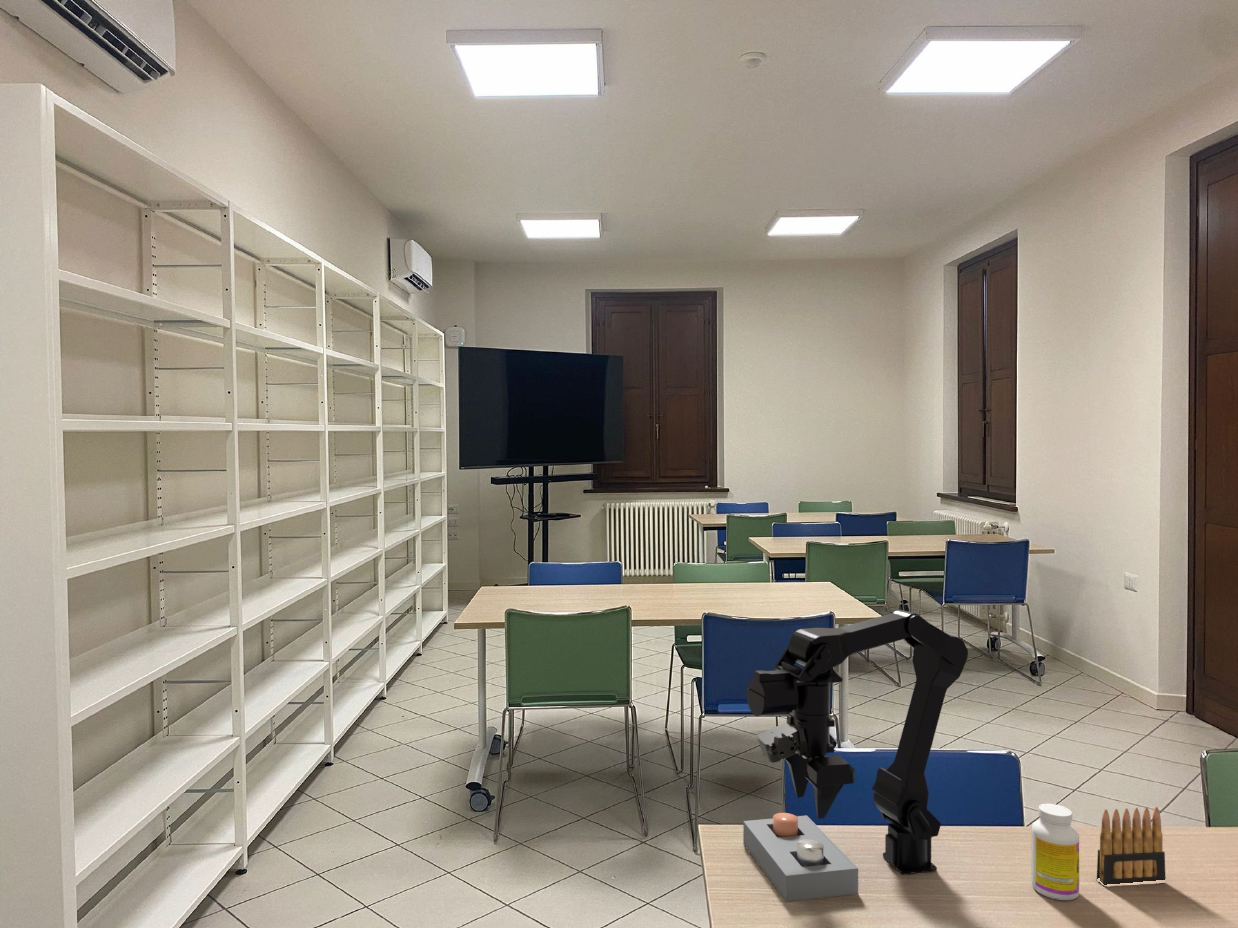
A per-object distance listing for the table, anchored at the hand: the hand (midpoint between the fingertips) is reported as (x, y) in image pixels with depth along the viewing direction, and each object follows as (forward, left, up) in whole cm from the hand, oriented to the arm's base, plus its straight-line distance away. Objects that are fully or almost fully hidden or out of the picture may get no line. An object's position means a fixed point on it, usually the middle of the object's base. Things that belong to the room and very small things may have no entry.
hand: (810, 807), depth 129 cm
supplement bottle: (-37, +9, -12) cm, 40 cm away
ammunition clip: (-51, +9, -12) cm, 53 cm away
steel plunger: (0, 0, -9) cm, 9 cm away
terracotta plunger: (0, -10, -9) cm, 14 cm away
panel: (0, -5, -12) cm, 13 cm away
